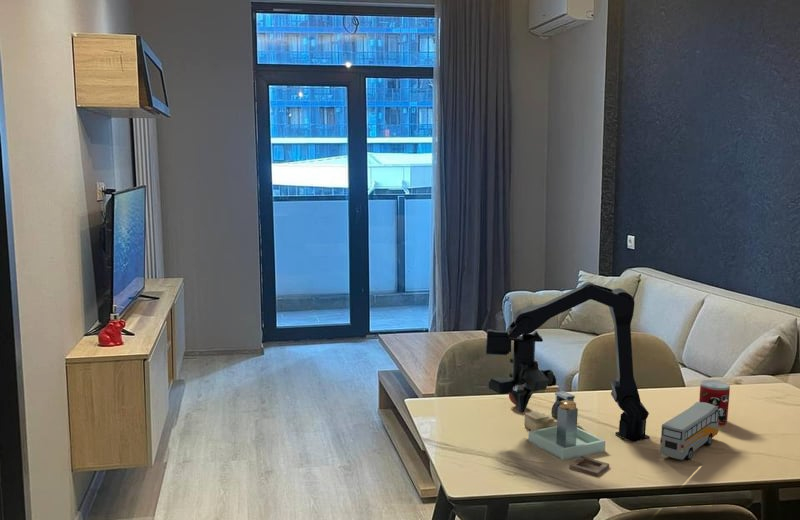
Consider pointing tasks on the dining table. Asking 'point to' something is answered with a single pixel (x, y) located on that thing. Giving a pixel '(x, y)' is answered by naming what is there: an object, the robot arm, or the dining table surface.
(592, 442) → the tray
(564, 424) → the pin
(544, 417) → the block
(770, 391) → the dining table surface
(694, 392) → the dining table surface
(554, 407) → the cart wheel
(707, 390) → the canned food
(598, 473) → the pin socket
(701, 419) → the toy bus
